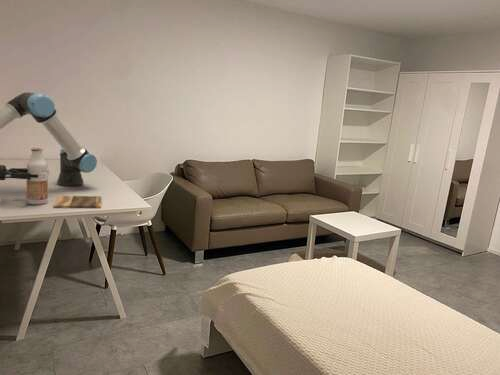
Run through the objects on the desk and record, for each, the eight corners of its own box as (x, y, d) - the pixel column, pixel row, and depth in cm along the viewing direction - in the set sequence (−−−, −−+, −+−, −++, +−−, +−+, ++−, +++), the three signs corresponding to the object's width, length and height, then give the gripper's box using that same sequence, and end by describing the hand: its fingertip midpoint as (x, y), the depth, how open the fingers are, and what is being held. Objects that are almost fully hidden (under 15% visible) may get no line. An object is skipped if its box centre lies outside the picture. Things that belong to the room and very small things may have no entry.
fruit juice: (30, 205, 189) (29, 150, 183) (24, 200, 195) (23, 147, 190) (50, 203, 196) (50, 149, 190) (44, 199, 202) (44, 147, 196)
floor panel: (53, 208, 189) (53, 205, 189) (58, 197, 208) (58, 195, 207) (100, 208, 197) (100, 205, 197) (101, 198, 216) (101, 196, 215)
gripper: (1, 175, 197) (50, 176, 205) (-11, 184, 177) (44, 186, 185) (1, 161, 195) (50, 163, 203) (-11, 169, 175) (43, 171, 183)
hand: (47, 174), depth 194 cm, fingers closed on fruit juice, 9 cm apart
